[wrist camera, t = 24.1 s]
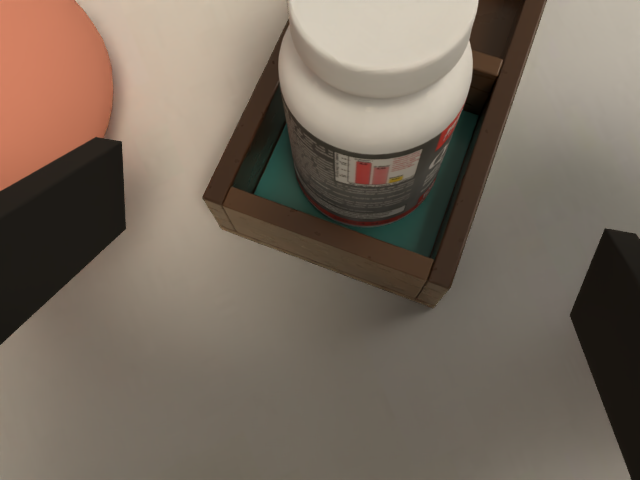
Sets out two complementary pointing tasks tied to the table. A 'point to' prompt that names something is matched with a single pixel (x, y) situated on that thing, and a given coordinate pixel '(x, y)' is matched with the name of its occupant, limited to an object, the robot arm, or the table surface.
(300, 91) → the pill bottle
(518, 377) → the table surface
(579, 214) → the table surface
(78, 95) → the sugar bowl
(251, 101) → the divided tray
